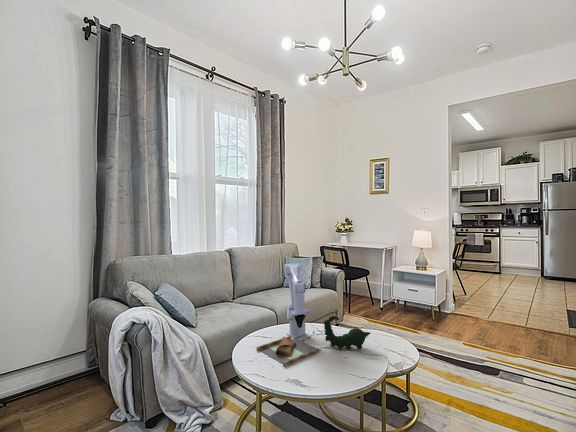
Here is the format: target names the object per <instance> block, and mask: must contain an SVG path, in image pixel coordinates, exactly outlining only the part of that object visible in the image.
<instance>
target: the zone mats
mask: <svg viewBox="0 0 576 432" xmlns="http://www.w3.org/2000/svg"><path fill="white" fill-rule="evenodd" d="M291 341H293V342H296V344H295V346H294V348H293V350H292V352H291V356H290V357H282V356H277V355H276V350H277V348H278V346H279V344H280V343H279V344H277V345H274V346H271V347H268V348H265V349H262V350H259V351H258V352H260V353H262V354H264V355H266V356H268V357H269V358H271V359H273V360H275V361H277V362H278V363H279V364H281V365H283V362H284V361H287V360H289V359H292V358H294V357H297V356H299V355H302V354H305V353H307V352H310V351H312V350H315V349H317V348H318V347H315V346H313V345H311V344H309V343H306V342H304V341H302V340H300V339H298V338H297V337H296V338H294V337H293V338H291ZM318 349H319V348H318ZM321 351H322V350H321V348H320V349H319V352H321Z"/></svg>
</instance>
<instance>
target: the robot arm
mask: <svg viewBox="0 0 576 432" xmlns="http://www.w3.org/2000/svg"><path fill="white" fill-rule="evenodd" d="M283 266H284V267H283V268H284V269H283V270H284V277H285V279H287V281H288V285H289V287H288V289H289V297H290V298H289V299H290V304H289V305H288V306H287V308H286V318H287V320H288V321H289V332H287V333H286V335H287V336H291V338H292V337H293V339H294V338H296V339H297V338H298V337H301V336H305V335H307V333H306V322H305V319H306V314H307V313H310V311H311V309H310V308H305V293H306V291H307V290H306V289H307V288H306V287H307V286H306V283H305V282H304V281H303V279H302V277H301V275H300V273H301V264H300V263H285V264H284V265H283Z"/></svg>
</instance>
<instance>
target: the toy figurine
mask: <svg viewBox="0 0 576 432" xmlns="http://www.w3.org/2000/svg"><path fill="white" fill-rule="evenodd" d="M335 320H337V321H339V320H340V318H339V317H338V316H335V315H331V316H329V318H328V319H326V320H324V321H323V325H324V326H323V329H324V335H325V338H324V339H325V342H328V341H329V342H330V347H331V348H335V346H336V347H337V348H338V350H341V351H342V349H343V348H344V347H345V349H346V350H351V346H355V347H356V348H357V349H358V350H361V349H362V348H363V345H364V343H365V342H366V338H367V337H368V336H369V335H371V332H368V331H363V330H362V329H361V328H358V327H353V328H351V329H349V331H348V333H344V334H342V335H336V334H335V333H334V331H333V329H332V327H333V326H332V325H331V322H333V321H335Z"/></svg>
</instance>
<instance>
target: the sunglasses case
mask: <svg viewBox="0 0 576 432" xmlns="http://www.w3.org/2000/svg"><path fill="white" fill-rule="evenodd" d="M286 337H287V336H283V337H282V338H283V339H282V338H281V339H282V340H281V342H280V344H279V346H278V348H277V350H276V355H277V356H282V357H290V356H291V352H292V350H293V348H294V346H295V344H296V342H293V341H291V340H289V339H287V338H286Z"/></svg>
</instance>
